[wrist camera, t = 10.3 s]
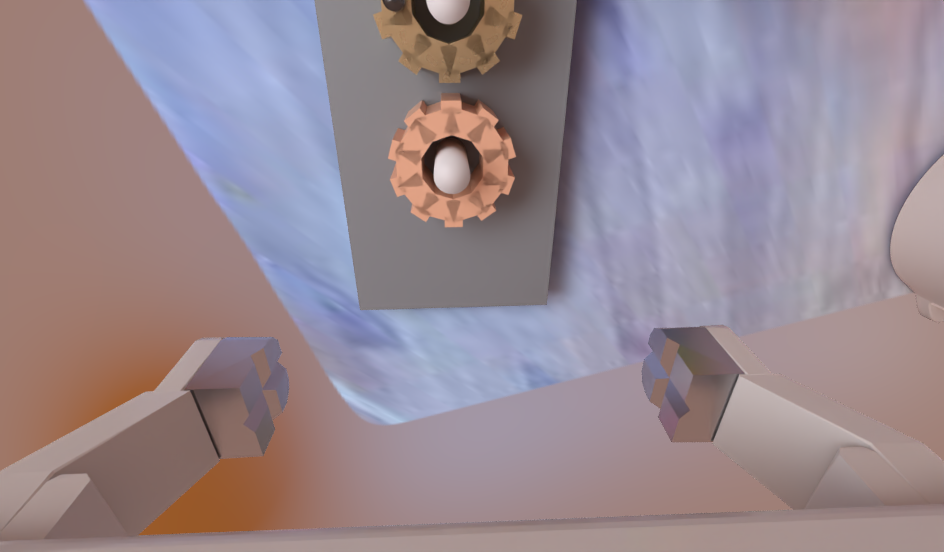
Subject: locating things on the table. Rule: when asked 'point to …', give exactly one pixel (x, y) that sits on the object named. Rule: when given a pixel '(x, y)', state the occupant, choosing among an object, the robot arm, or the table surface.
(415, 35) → the gear
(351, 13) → the gear board
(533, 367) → the table surface
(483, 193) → the loose gear
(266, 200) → the table surface
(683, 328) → the robot arm
